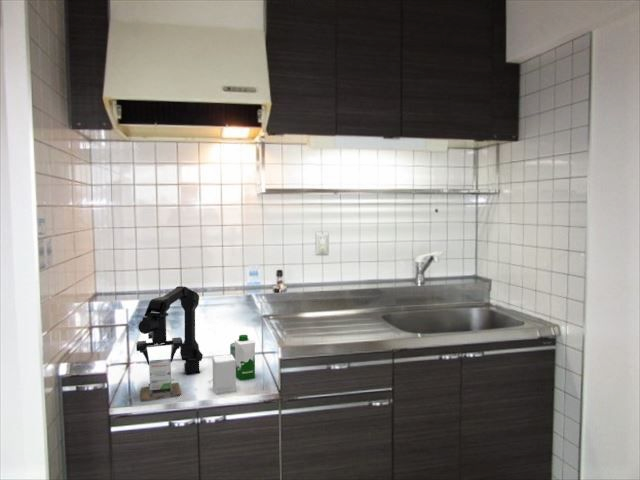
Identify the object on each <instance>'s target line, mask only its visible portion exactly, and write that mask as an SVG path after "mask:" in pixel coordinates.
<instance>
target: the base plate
mask: <svg viewBox="0 0 640 480" xmlns="http://www.w3.org/2000/svg"><path fill="white" fill-rule="evenodd" d="M180 395H181V396H182V391H181V388H180V384H179V382H171V388H170V389H159V390H150V383H148V386H142V387H140V398H141V399H140V400H141V401H143V402H150V401H154V400H153V399H156V400H161V399H160V398H163V399H166V398H165V397H170V398H173V397H172V396H177V397H181V396H180Z"/></svg>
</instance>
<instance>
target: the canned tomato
mask: <svg viewBox="0 0 640 480" xmlns="http://www.w3.org/2000/svg"><path fill="white" fill-rule="evenodd" d="M229 347H230V348H229V350H230V354H229V355H232V356H233V357H234V359H235V342H231V343H230V345H229Z"/></svg>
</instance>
